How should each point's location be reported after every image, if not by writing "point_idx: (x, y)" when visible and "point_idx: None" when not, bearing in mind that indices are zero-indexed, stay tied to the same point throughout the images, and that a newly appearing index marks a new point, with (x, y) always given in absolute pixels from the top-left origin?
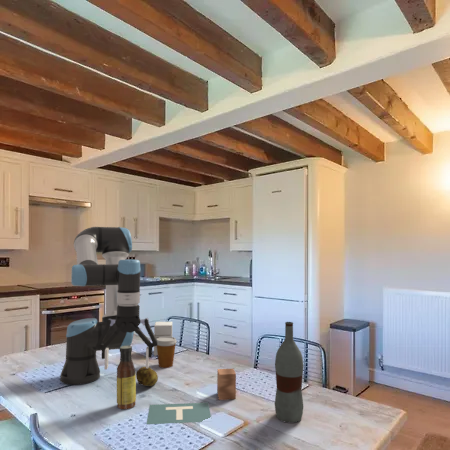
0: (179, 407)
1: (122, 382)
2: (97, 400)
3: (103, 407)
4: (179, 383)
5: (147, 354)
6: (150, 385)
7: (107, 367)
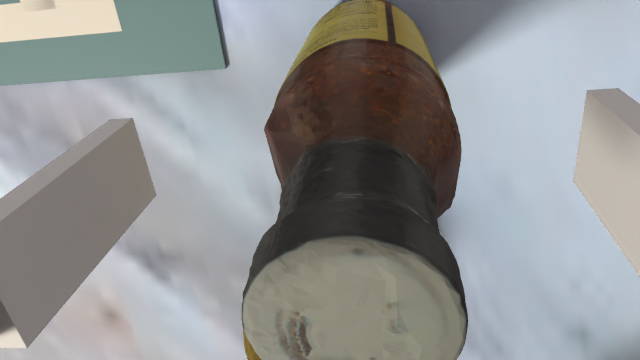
0: (45, 27)
1: (379, 31)
2: (565, 150)
3: (513, 45)
4: (151, 325)
5: (18, 193)
6: None
7: (583, 141)
